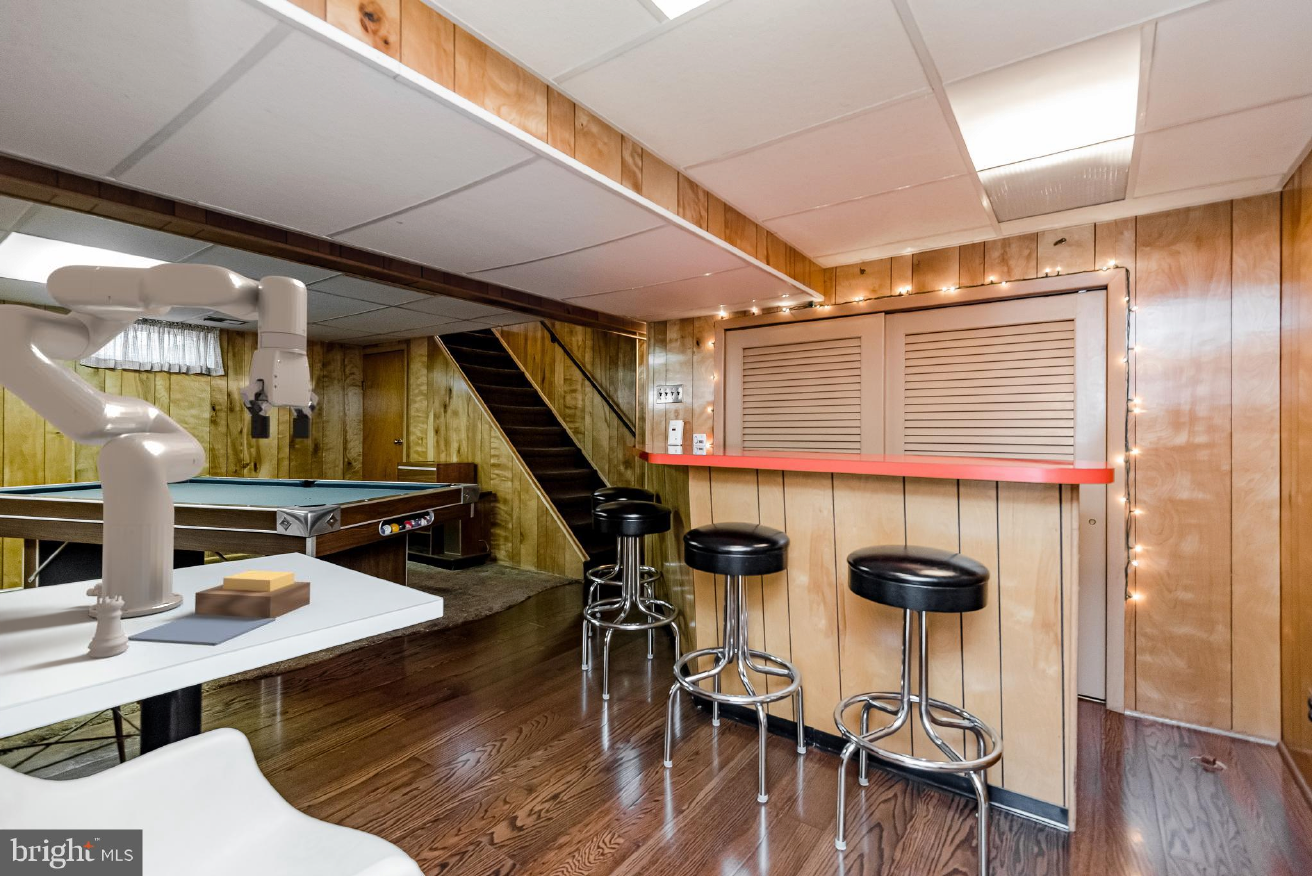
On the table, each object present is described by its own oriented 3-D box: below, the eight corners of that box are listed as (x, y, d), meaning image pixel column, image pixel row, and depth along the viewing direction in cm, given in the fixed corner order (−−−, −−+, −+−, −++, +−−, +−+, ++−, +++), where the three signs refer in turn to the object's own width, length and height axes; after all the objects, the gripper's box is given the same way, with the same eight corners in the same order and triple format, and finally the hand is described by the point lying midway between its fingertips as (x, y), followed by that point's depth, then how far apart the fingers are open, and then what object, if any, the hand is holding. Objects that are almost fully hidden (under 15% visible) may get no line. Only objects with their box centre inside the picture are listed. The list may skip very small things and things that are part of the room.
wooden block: (194, 615, 101) (195, 592, 101) (240, 599, 111) (241, 579, 111) (270, 619, 100) (270, 596, 100) (309, 603, 110) (310, 582, 110)
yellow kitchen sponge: (223, 589, 104) (223, 577, 104) (249, 580, 110) (249, 570, 110) (270, 591, 103) (270, 580, 103) (294, 583, 109) (294, 572, 109)
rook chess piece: (105, 647, 85) (106, 593, 85) (137, 647, 86) (138, 593, 86) (77, 659, 81) (78, 602, 81) (111, 659, 81) (113, 602, 81)
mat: (126, 639, 89) (126, 637, 89) (194, 615, 101) (194, 614, 101) (216, 644, 87) (216, 642, 87) (275, 620, 99) (275, 618, 99)
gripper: (299, 352, 116) (298, 438, 116) (223, 338, 98) (222, 438, 98) (333, 352, 115) (332, 438, 115) (263, 337, 97) (262, 438, 97)
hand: (281, 438), depth 107 cm, fingers open, 9 cm apart
